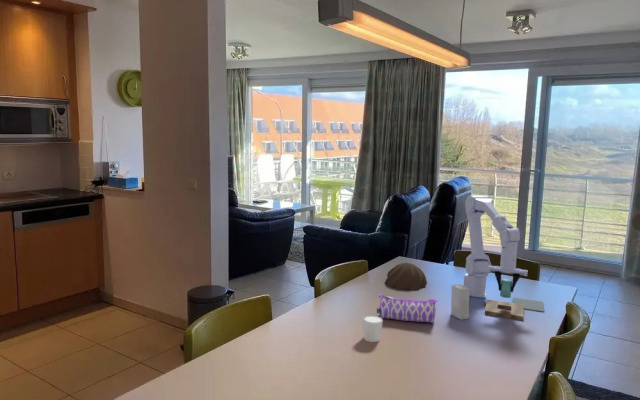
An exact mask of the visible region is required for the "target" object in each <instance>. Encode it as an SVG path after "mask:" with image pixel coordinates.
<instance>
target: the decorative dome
mask: <svg viewBox="0 0 640 400" xmlns="http://www.w3.org/2000/svg"><path fill="white" fill-rule="evenodd" d="M386 275H387V277H386V279H385V281H384V283H385V284H388V285H389V287H392V288H397V289H399V290H412V291H416V290H419V289H426V285H428V281H427V277H426V275H425V273H424V272H423V269H421V268H420V267H418V266H417V265H415V264H413V263H409V262H401V263H398V264H396V265H395V266H394V267H392V268H391V269H390V270H389V271H388V272H387V274H386Z"/></svg>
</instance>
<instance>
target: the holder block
mask: <svg viewBox="0 0 640 400" xmlns="http://www.w3.org/2000/svg"><path fill="white" fill-rule="evenodd" d="M484 315H487V316H494V317H500V318H506V319H512V320H518V321H524V309H523V305H521V304H515V303H513V302H508V301H507V302H506V301H499V300H494V299H487V300H486V304H485V308H484Z"/></svg>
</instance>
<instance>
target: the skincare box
mask: <svg viewBox="0 0 640 400" xmlns="http://www.w3.org/2000/svg"><path fill="white" fill-rule="evenodd" d="M469 291H470V289H469V288H467V287H465V286H464V284H460V283H458V284H452V285H451V294H450V295H451V296H450V297H451V298H450V299H451V300H450V315H452V316H454V317H455V318H456V319H459V320H460V321H461V320H468V319H469V317H470V316H469V314H470V311H469V310H470V296H469Z"/></svg>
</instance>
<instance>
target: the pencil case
mask: <svg viewBox="0 0 640 400" xmlns="http://www.w3.org/2000/svg"><path fill="white" fill-rule="evenodd" d="M378 297H379V298H380V305H379V306H378V307H379V308H378V307H377V308H376V314H379V317H380V318H382V319H390V320H395V321H396V320H398V321H405V322H406V321H408V322H409V321H410V322H421V323H432V324H434V323H435V318H436V311H437V310H436V309H437V308H436V303H437V302H438V301H439V300H438V298H433V299H432V298H431V299H428V300H427V299H425V300H421V299H418V300H417V299H410V298H409V299H408V298H400V297H399V298H398V297H393V296H388V295H387V294H382V292H380V293H379V296H378Z"/></svg>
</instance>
